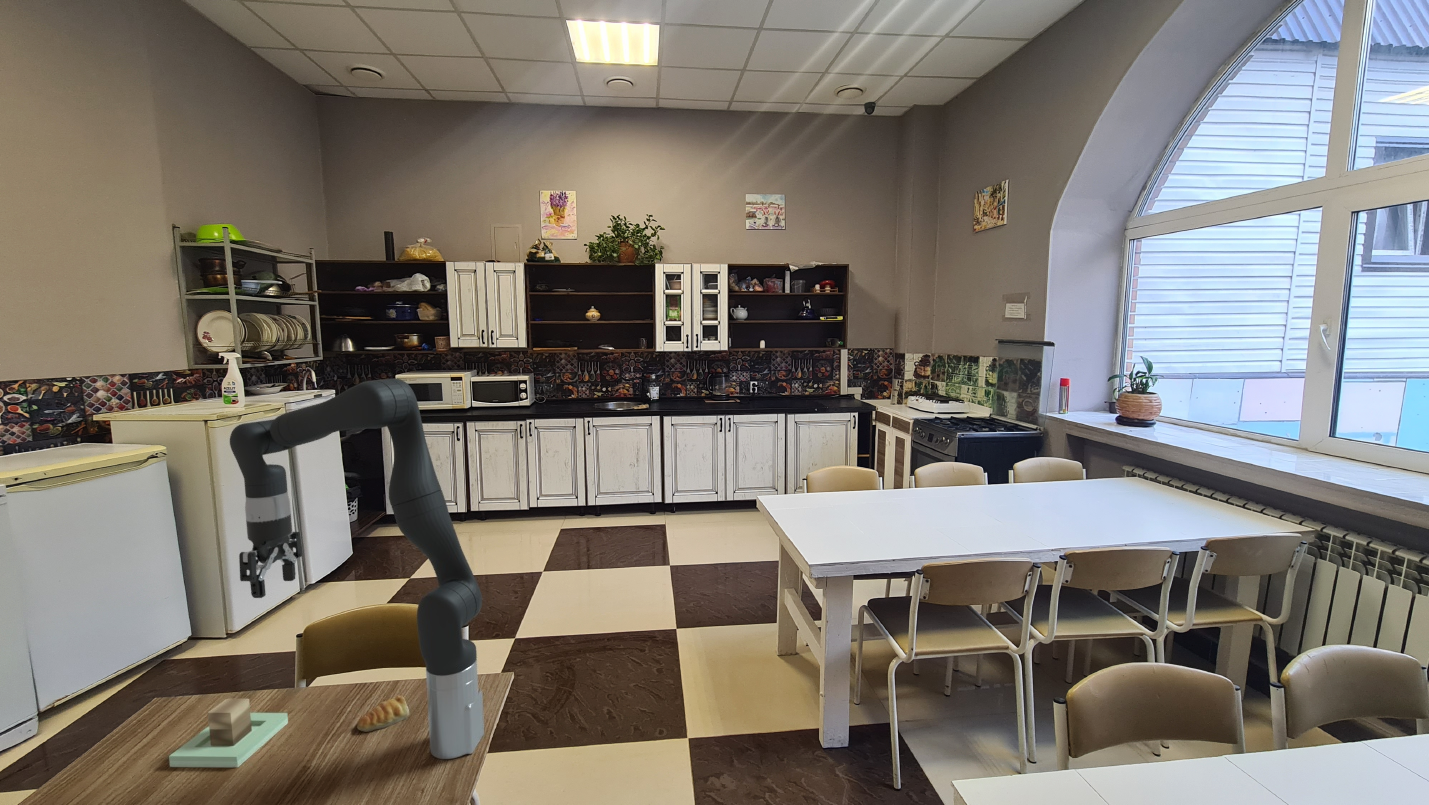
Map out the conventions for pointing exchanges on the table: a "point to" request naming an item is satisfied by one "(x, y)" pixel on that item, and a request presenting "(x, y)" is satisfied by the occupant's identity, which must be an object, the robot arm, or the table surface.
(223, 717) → the wooden block
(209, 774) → the table surface
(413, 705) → the table surface
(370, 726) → the pastry
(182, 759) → the plate
